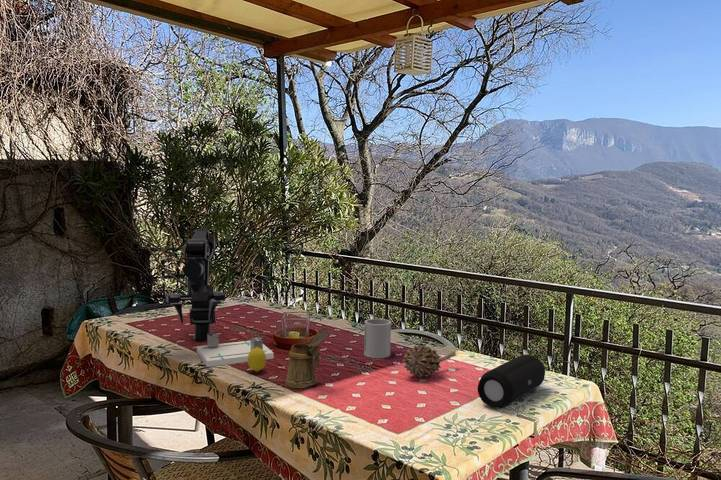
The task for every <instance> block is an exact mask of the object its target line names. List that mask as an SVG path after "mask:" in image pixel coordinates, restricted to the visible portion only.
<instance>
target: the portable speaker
mask: <svg viewBox="0 0 721 480" xmlns="http://www.w3.org/2000/svg"><path fill="white" fill-rule="evenodd" d="M545 377H546V368H545V366H544V363H543V362H542V361H541V360H540V359H539V358H538V357H536V356H534V355H531V354H526V353H525V354H520V355H518V356H516V357H514V358H513V359H511V360H508V361H507V362H504V363H502V364H500V365H498V366H496V367H494V368H492V369H490V370H488V371H486V372H484V374H482V376H480V379H479V381H478V383H477V393H478V397H479V398H480V401H482V403H484V404H485V405H486V406H488V407H490V408H495V409H503V407H504V408H506V407H508V406H509V405H510V404H513V402H516V401H518V400H519V399H521V397H524V396H525V395H526V394H528V393H530V392H531V391H533V390H534V389H536V388H538V387H539V386H541V385H542V384H543V382H544V380H545Z"/></svg>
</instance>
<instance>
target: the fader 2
mask: <svg viewBox="0 0 721 480" xmlns="http://www.w3.org/2000/svg"><path fill="white" fill-rule="evenodd" d="M250 341H251V350H252V349H254V348H256V347H258V348H260V349H262V350H263V344H264V343H263V342H264V341H263V339H262V338H261V337H252V338H250Z"/></svg>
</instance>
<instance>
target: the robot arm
mask: <svg viewBox="0 0 721 480" xmlns="http://www.w3.org/2000/svg"><path fill="white" fill-rule="evenodd" d="M214 250H216V238H215V235H213V234H212V233H211V232H210V230H209V229H207V228H196V229H194V234H193V235H192V236H191V238H188V239H187V240H186V241H185V243H184V244H183V253H182V260H183V261H186V262H187V263H185V264H184V266H183V271H182V272H183V275H184V276H185V277H186V280H187V281H186V282H187V285H186V287H187V291H186V294H180V293H179V292H174V293H167V294H166V296H165V297H166V298H165V302H166V303H167V304H170V305H171V306H173V307H174V309H175V311H176V312H177V315H178V318H179V321H180V323H181V324H184V318H183V309H182V306H183V303H181V301H192V303H191V308H190V309H189V324H190V325H191V326H193V325H194V336H192V337H191V338H192V339H193V341H194V342H207V334H210V333H211V325H214V324H216V320H217V319H216V312H215V311H216V308H217V306H218V305H219V304H221V303H222V301H226V293H225V292H223V291H221V290H220V291H214V286H213V284H209V276H210V275H209V273H210V271H209V270H210V266H209V265H210V261H211V259H212V258H213V256H214Z"/></svg>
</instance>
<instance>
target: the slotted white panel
mask: <svg viewBox="0 0 721 480" xmlns="http://www.w3.org/2000/svg"><path fill="white" fill-rule="evenodd" d="M250 351H251V340H242V341H235V342H227V343H226V342H225V343H219V347H214V348H210V347H209V346H208V344H206V345H200V346H199V345H198V346H196V354H197V355H198V356H199V358H200V359H201V360H202V362H203V363H204V365H205V366H206V368H211V367H218V366H220V367H221V366H225V365H226V366H228V365H234V364H235V365H236V364H241V363H248V355H249V353H250ZM263 351H264V353H265V356H266V361H267V360H273V359H274V358H275V355H274V354H275V353H274V352H273V351H272V350H271V349H270V348H269V347H267V346H266V345H265V344H264V343H263Z"/></svg>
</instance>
